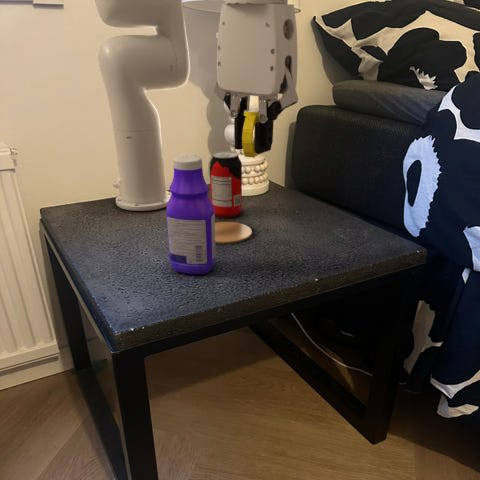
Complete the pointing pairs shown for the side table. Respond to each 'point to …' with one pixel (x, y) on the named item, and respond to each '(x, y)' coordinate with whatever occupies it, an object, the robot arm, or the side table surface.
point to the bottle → (190, 218)
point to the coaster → (231, 232)
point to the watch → (249, 132)
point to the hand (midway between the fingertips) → (252, 148)
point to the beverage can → (226, 183)
